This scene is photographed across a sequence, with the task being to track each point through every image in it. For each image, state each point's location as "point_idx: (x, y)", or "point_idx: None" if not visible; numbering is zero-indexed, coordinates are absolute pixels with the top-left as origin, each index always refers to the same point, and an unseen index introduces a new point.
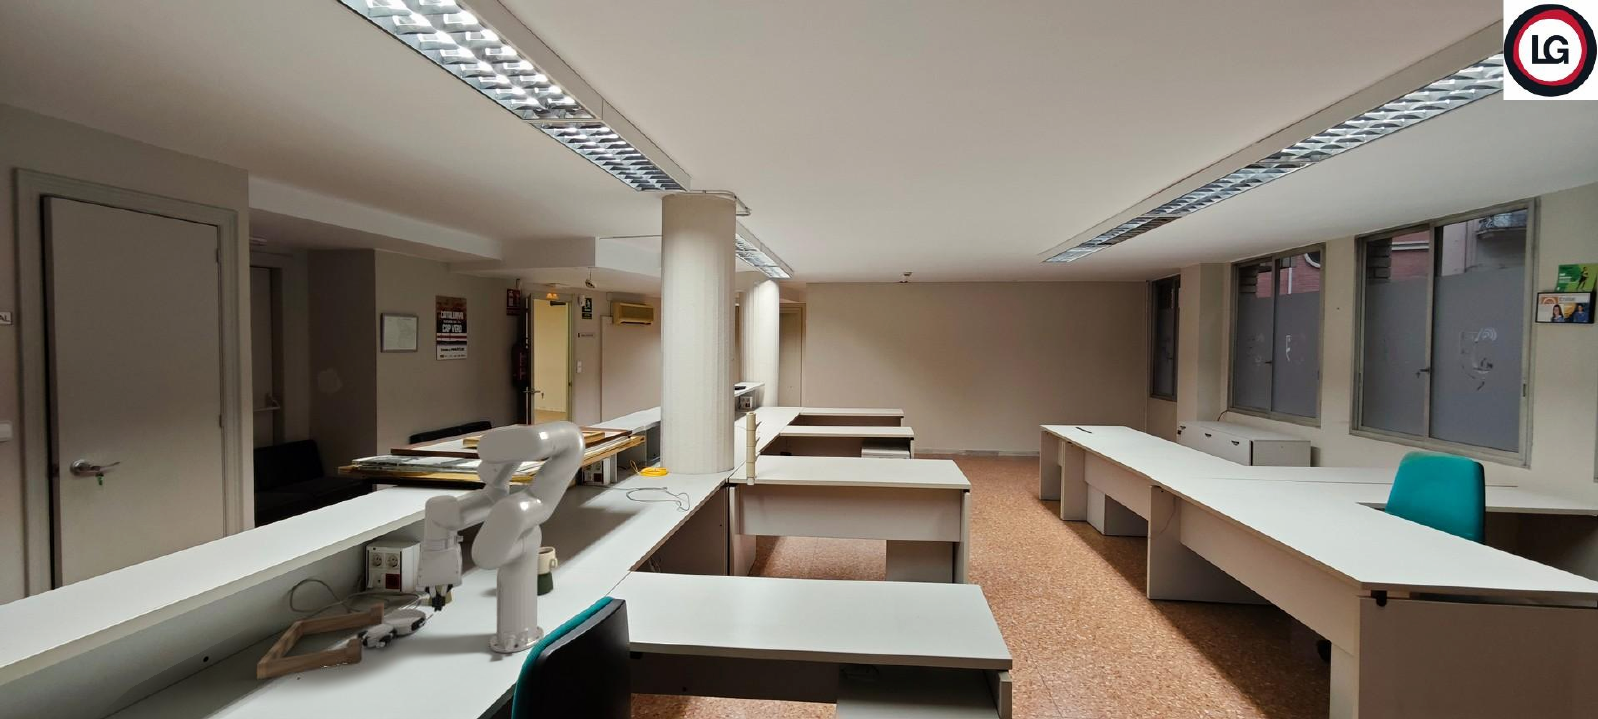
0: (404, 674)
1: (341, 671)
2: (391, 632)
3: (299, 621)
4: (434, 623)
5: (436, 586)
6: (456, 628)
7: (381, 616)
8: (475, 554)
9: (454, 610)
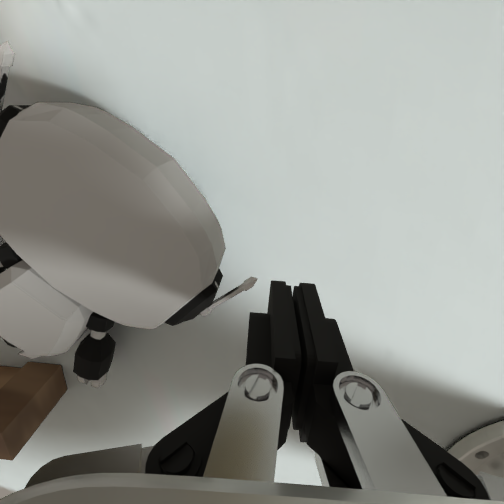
0: None
1: None
2: (95, 329)
3: None
4: (261, 191)
5: (275, 455)
6: (355, 294)
7: None
8: None
9: (370, 33)
